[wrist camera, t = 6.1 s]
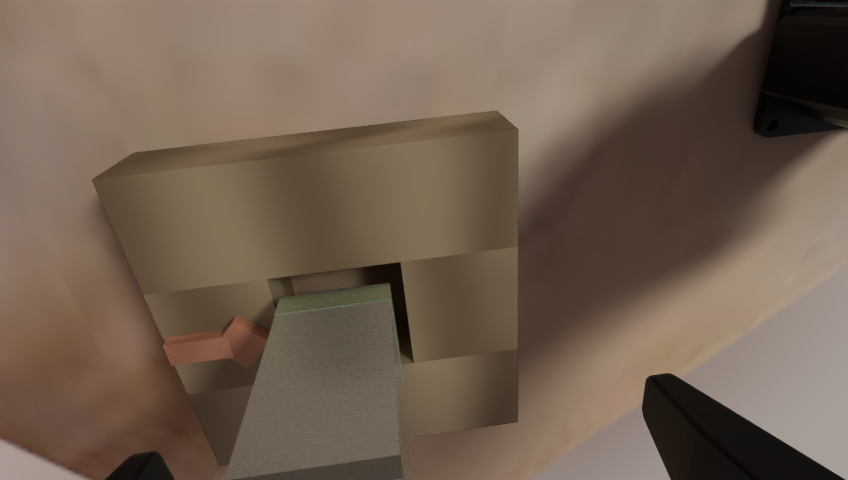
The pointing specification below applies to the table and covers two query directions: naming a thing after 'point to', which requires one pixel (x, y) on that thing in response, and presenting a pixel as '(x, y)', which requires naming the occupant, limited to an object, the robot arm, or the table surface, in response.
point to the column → (327, 393)
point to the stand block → (332, 255)
